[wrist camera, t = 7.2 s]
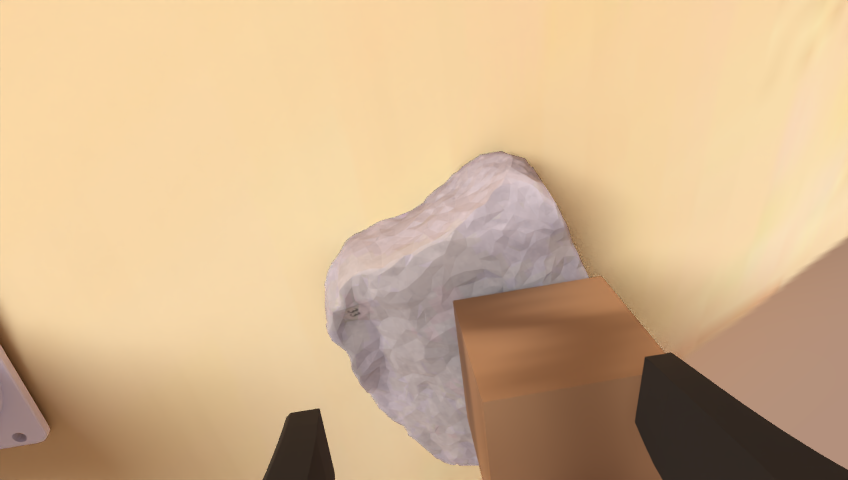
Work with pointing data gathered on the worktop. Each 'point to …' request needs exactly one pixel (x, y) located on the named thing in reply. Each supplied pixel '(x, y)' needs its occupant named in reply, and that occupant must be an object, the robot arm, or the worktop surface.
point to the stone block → (442, 290)
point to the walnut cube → (554, 382)
